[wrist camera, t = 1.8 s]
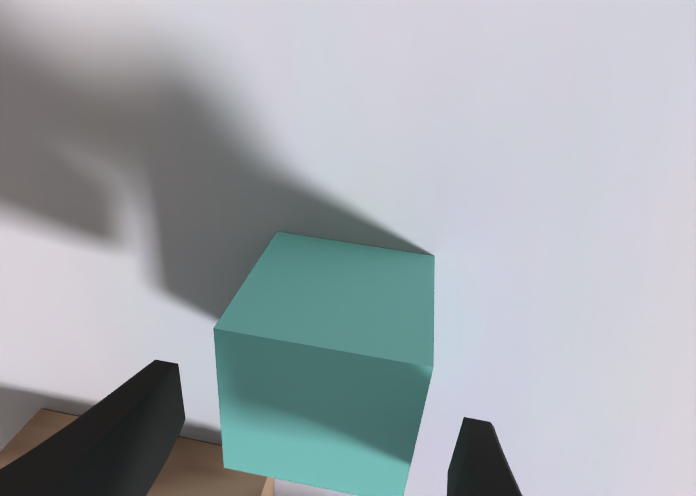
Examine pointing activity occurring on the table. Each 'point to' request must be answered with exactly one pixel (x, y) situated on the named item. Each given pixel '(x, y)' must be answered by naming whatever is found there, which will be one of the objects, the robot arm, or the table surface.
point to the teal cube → (327, 364)
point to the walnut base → (177, 473)
